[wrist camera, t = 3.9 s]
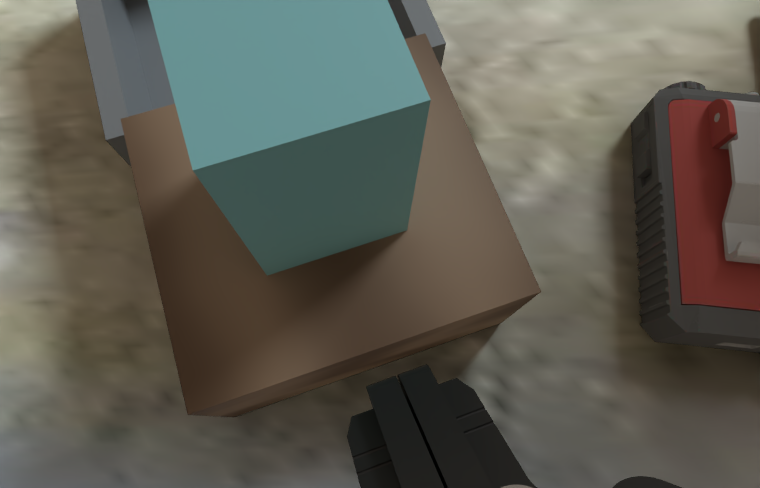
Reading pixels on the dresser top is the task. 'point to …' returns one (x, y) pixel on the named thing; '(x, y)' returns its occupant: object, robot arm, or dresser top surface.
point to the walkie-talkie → (699, 216)
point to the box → (146, 65)
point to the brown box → (324, 270)
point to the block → (297, 119)
